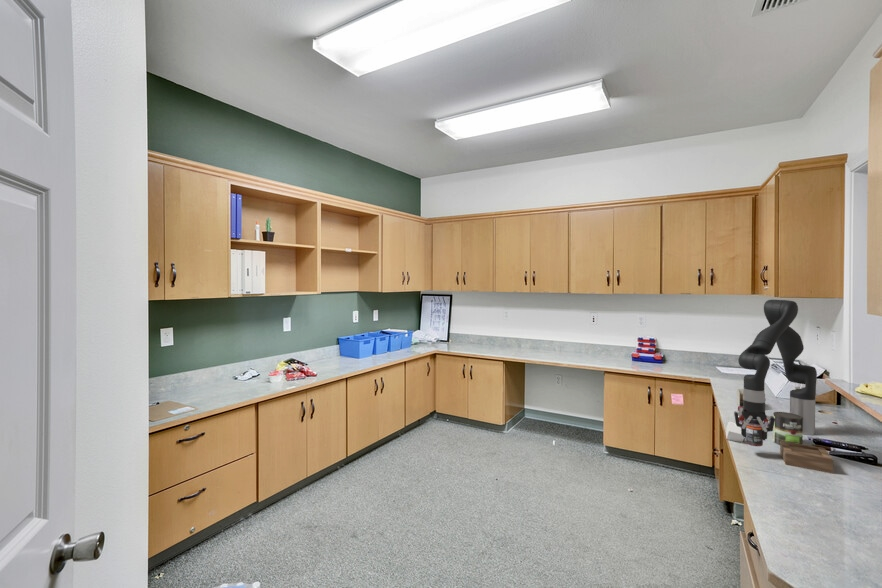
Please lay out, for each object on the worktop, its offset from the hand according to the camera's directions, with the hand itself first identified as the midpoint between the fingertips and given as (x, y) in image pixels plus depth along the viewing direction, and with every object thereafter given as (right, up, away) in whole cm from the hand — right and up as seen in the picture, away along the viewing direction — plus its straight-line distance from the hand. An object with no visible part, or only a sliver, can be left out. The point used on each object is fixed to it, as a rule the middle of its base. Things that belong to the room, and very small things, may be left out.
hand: (753, 438), depth 169 cm
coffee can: (+24, -8, +11) cm, 27 cm away
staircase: (+45, -8, +61) cm, 76 cm away
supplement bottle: (0, -3, 0) cm, 3 cm away
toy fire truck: (+27, -7, +35) cm, 45 cm away
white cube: (+3, -7, +15) cm, 17 cm away
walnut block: (+15, -8, -7) cm, 19 cm away
